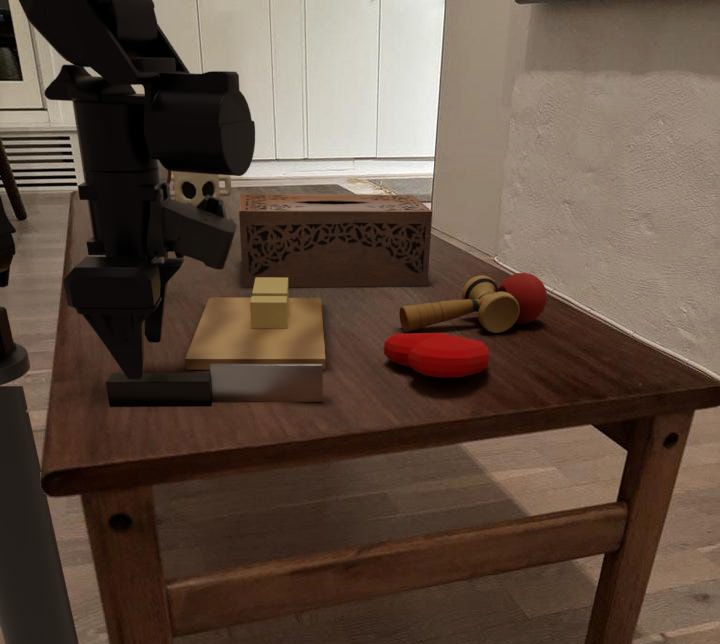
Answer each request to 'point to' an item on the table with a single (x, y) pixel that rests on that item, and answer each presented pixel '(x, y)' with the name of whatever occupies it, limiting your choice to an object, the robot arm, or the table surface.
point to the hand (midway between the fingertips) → (145, 359)
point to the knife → (219, 386)
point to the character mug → (198, 186)
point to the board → (256, 335)
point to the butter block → (271, 287)
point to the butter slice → (269, 312)
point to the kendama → (484, 304)
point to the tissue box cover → (335, 239)
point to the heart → (437, 354)
